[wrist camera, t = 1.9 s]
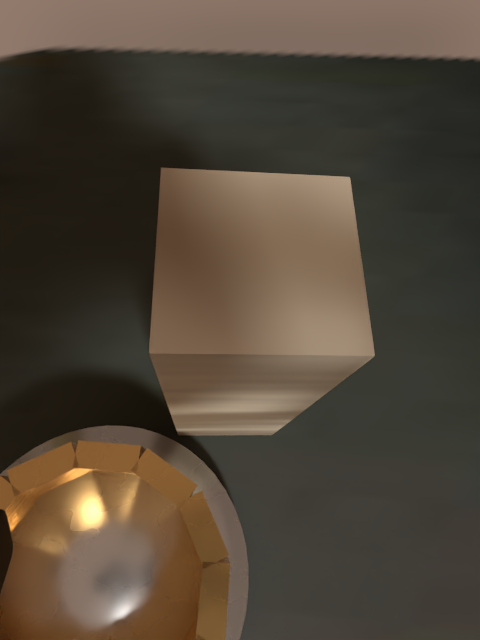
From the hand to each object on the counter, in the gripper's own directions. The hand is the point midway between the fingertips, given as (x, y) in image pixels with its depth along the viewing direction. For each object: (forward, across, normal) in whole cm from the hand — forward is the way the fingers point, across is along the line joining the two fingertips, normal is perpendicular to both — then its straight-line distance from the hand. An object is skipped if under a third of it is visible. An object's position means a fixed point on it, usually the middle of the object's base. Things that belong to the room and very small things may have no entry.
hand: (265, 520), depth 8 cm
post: (+13, 0, +5) cm, 14 cm away
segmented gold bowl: (+7, +5, +11) cm, 14 cm away
